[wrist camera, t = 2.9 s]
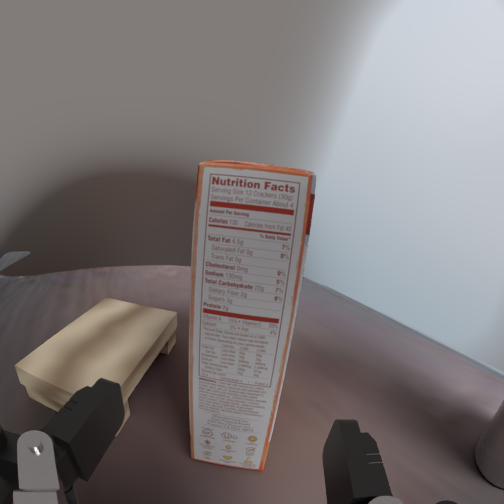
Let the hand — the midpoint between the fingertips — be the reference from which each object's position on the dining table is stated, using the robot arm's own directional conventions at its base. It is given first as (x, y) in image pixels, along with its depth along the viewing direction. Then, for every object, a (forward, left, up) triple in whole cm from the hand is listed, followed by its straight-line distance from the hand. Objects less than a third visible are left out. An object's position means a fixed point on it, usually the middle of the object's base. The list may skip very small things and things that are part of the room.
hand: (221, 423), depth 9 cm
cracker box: (0, -13, -12) cm, 17 cm away
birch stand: (+14, -15, -12) cm, 23 cm away
